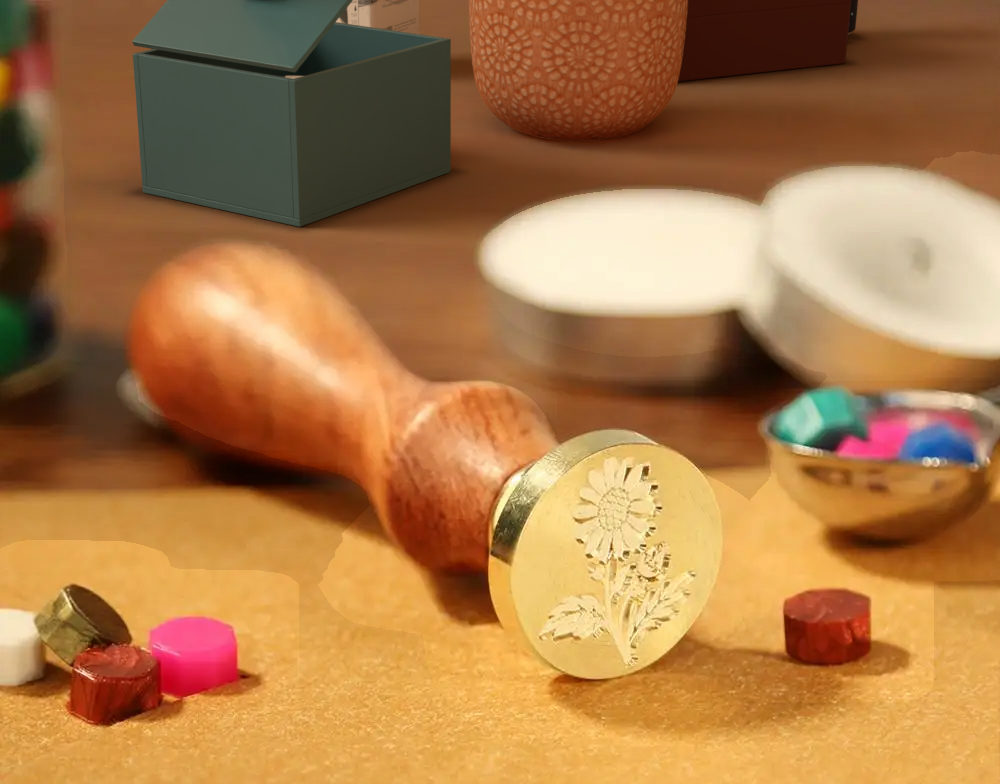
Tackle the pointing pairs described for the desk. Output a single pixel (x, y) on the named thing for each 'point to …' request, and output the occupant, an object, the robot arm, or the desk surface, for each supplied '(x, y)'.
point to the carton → (297, 125)
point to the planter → (577, 63)
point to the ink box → (384, 14)
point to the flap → (243, 30)
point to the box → (762, 36)
